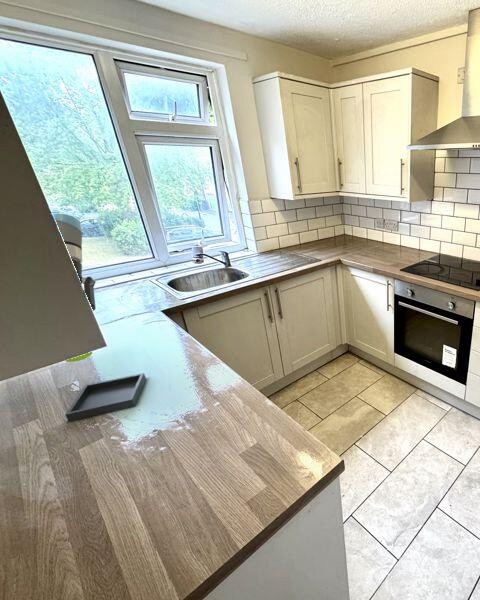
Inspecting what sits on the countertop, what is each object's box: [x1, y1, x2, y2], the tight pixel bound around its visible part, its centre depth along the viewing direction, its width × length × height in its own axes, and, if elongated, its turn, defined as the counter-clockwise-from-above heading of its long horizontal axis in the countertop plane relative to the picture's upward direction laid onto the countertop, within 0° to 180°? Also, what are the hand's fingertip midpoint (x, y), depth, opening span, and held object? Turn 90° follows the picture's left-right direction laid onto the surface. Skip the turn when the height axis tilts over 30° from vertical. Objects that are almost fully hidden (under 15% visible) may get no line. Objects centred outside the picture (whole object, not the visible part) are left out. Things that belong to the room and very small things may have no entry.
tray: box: [64, 372, 147, 422], centre depth 95 cm, size 15×14×2 cm
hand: (62, 337), depth 88 cm, fingers closed on soap dispenser, 6 cm apart
